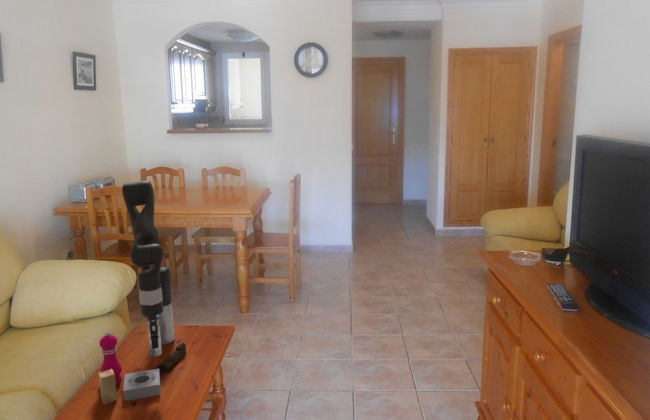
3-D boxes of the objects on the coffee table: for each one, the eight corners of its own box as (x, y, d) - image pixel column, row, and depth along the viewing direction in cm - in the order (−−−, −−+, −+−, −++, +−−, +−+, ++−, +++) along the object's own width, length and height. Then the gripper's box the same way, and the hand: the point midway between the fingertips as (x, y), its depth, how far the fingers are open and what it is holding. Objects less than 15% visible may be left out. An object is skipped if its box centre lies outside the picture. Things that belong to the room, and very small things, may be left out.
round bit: (149, 352, 181) (147, 326, 179) (161, 350, 182) (159, 324, 180) (150, 357, 177) (147, 330, 175) (162, 355, 179) (159, 328, 177)
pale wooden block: (101, 398, 176) (98, 372, 174) (114, 394, 179) (112, 368, 177) (103, 404, 173) (101, 378, 171) (117, 400, 175) (114, 374, 173)
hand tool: (166, 374, 192) (166, 363, 191) (157, 373, 193) (156, 362, 192) (191, 352, 210) (191, 341, 209) (183, 351, 211) (182, 340, 210)
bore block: (125, 384, 186) (124, 374, 185) (159, 378, 189) (159, 368, 189) (124, 401, 174) (123, 390, 174) (160, 394, 178) (159, 384, 177)
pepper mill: (127, 378, 190) (122, 328, 186) (113, 388, 183) (108, 337, 179) (111, 375, 192) (106, 326, 188) (97, 385, 185) (91, 334, 181)
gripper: (139, 294, 181) (143, 338, 184) (140, 309, 168) (144, 356, 171) (161, 291, 184) (165, 335, 187) (163, 305, 170) (167, 352, 174)
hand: (155, 345), depth 179 cm, fingers closed on round bit, 4 cm apart
